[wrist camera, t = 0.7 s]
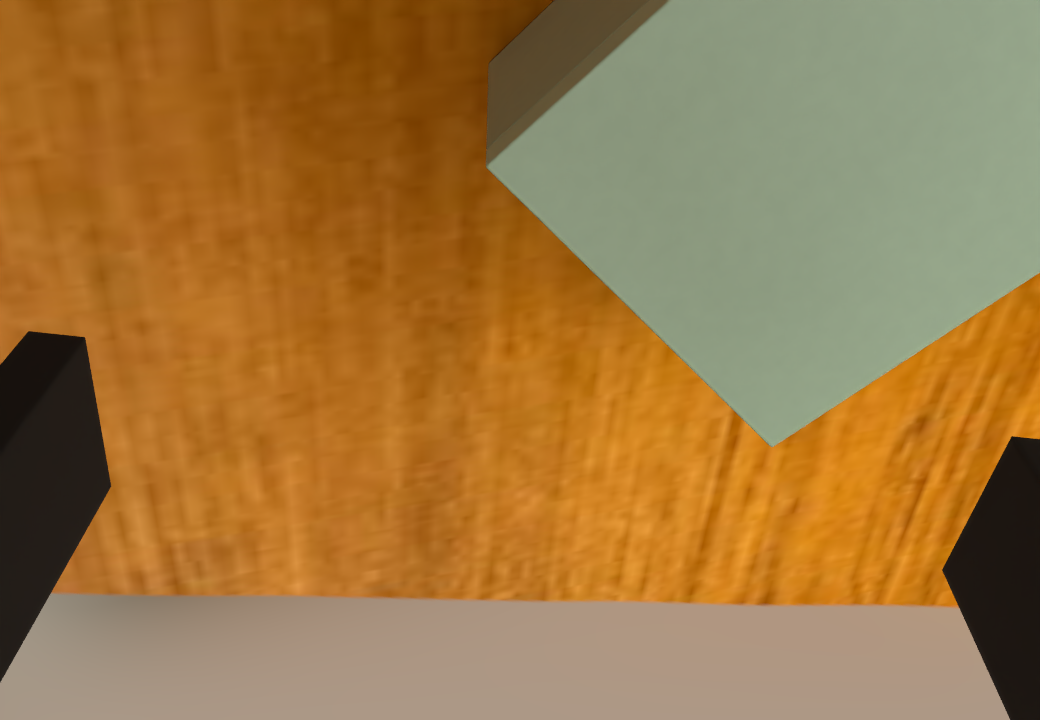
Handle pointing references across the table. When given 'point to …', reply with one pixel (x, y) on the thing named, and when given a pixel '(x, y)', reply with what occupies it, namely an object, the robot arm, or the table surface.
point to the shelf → (782, 176)
